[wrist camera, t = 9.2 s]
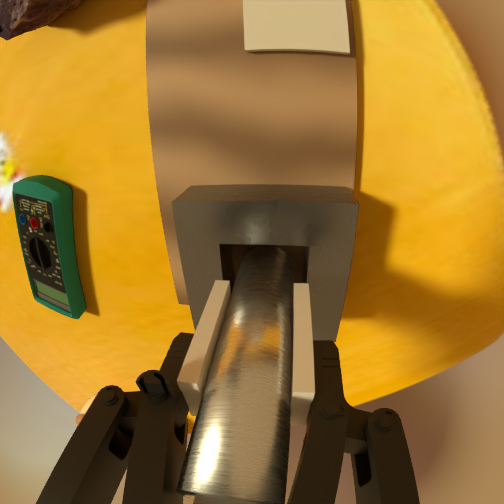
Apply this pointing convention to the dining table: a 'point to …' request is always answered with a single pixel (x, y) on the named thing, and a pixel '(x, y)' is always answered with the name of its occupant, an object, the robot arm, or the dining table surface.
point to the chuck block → (269, 239)
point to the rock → (30, 14)
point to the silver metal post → (247, 392)
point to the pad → (296, 26)
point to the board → (242, 112)
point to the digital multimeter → (49, 243)
